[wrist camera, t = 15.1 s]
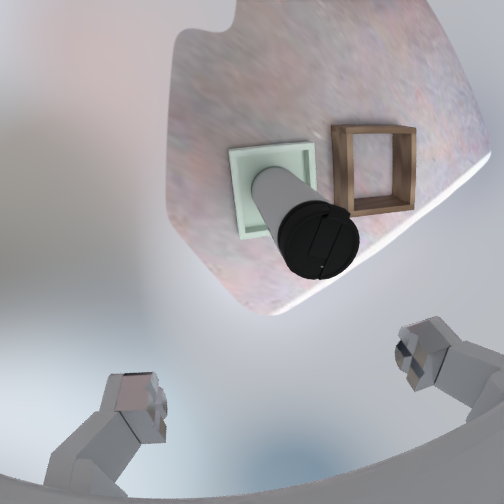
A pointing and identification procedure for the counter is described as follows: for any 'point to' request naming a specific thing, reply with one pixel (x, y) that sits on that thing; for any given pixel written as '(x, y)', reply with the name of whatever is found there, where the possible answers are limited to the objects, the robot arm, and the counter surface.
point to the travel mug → (305, 224)
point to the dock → (255, 160)
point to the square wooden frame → (401, 170)
